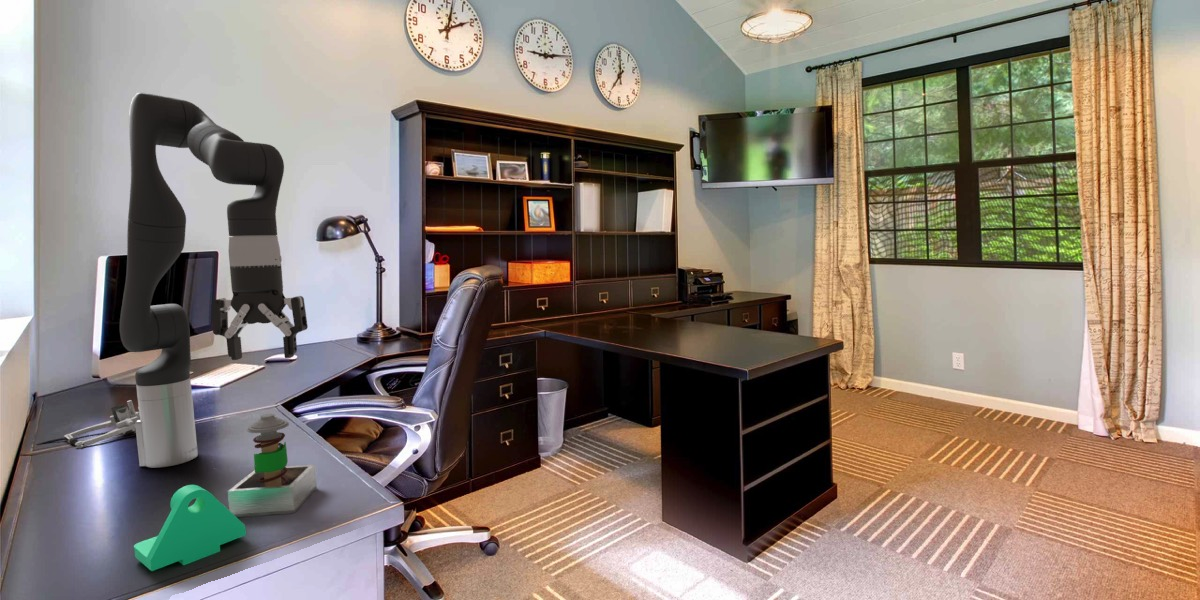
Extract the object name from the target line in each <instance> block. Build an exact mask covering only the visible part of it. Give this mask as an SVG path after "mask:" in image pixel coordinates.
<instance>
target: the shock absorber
mask: <svg viewBox="0 0 1200 600" xmlns="http://www.w3.org/2000/svg"><path fill="white" fill-rule="evenodd" d="M289 424H290V422H289V421H287V420H285V419H282V418H280V417H278V416H275V414H273V413H267V414H263V415H260V419H258V420H256V421H255V422H254V423H252V424H251V425H249V426H248V427H247V429H246V431H247V432H248V433H252V434H260V435H257V436H255V437H254V438H253V440H252V441H253V443H256V444H255V445H254V446H253V447H254V448H255V449H260V450H261V451H260V452H259V453H254V454H253V464H254V470H255V473H258V472H263V473H264V477H261V478H259V479H258V482H260V483H263V482H264V484H265V487H274V486H285V485H286V484H287V483H288V479H287V478H286V477H284V476H283V475H284V474H285V473H286V472H287V468H286V467H285V466H287V465H288V452H287V443H286V441H284V442H283V443H282V442H281V441H283V440H284V438H285V436H286V434H285V433H283V432H278V431H279V430H283V429H285V428H288V427H289ZM281 469H284V471H283V473H281ZM281 479H283V480H285V483H284V484H283V485H282V482H281Z"/></svg>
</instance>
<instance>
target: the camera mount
mask: <svg viewBox="0 0 1200 600" xmlns="http://www.w3.org/2000/svg"><path fill="white" fill-rule="evenodd" d="M193 500H195V502H194V503H193V504H192V505H190V503H191V502H192V501H193ZM169 504H170V509H171V510H170V512H169V515H167V518H166V519H165V522H164V523H163V525H162V527H161V529H160V531H159V533H158V535H157V536H154V537H150V538H149V539H144V540H142V541H139V542H137V543H135V544H134V545H133V549H134V558H136V559H137V560H138V561H139V562H140V563H141V564H142V565H144V566H145V567H146V568H147V569H148V570H149V571H151V572H154V571H156V570H159V569H162V568H165V567H166V566H169V565H173V564H175V563H177V562H179V563H180V564H181V565H182V566H185V565H188V564H191V563H194V562H196V561H199V560H202V559H204V558H206V557H209V556H213V555H215V554H216V553H220V552H221V545H224V544H226V543H229V542H232V541H234V540H237V539H239V538H243V537H245V536H246V535H247V530H246V525H245V523H244V522H242V521H241V520H240V519H239V517H236V516H235V515H233V514H232V513H231V512H230V511H229V508H227V507H226V506H225V505H224V504H223V503H221V501H220V500H219V499H218V498H217V497H216V496H214V494H212V493H211V492H209V491H208V490H207V489H205V488H203V487H201V486H199V485H197V484H187V485H185V486H182V487H181V488H178V489H177V490H176V491H175V492H174V493H173V495H172V497H171V498H170V503H169ZM189 505H190V506H189Z"/></svg>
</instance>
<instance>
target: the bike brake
mask: <svg viewBox="0 0 1200 600" xmlns="http://www.w3.org/2000/svg"><path fill="white" fill-rule="evenodd" d="M126 403H127V406H125V405H124V403H122V404H118V405H117V406H113V407H110V410H111V413H112V415H110V416H109V420H107V421H105V422H100V423H97V424H94V425H91V426H88V427H84V428H82V429H79V430H76V431H73V432H71V433H66V434H65V435H63V437H60V438H55V439H50V440H46V441H42V442H39V443H36V445H37V446H41V445H46V444H50V443H55V442H60V441H66V442H67V443H69V444H70V445H72V446H75V447H76V449H82V448H85V447H87V446H90V445H93V444H95V443H99V442H102V441H105V440H107V439H109V438H110V439H111V438H113V437H114V436H115V437H116V436H118V435H121V434H122V436H126V435H129V434H133V433H136V427H135V422H136V421H138V420H140V415H139V406H138V407H137V410H138V411H136V410H135V406H134V404H133V400H131V399H129V400H127V401H126ZM113 426H116V428H114V429H113V430H111V431H109V432H106V433H104V434H101V435H99V436H95V437H92V438H89V439H88V438H87V439H86V440H80V441H79V440H78V439H76V438H77V437H80V436H82V435H85V434H87V433H90V432H95V431H98V430H102V429H106V428H111V427H113Z"/></svg>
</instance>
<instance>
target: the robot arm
mask: <svg viewBox="0 0 1200 600" xmlns="http://www.w3.org/2000/svg"><path fill="white" fill-rule="evenodd" d="M128 113H129V115H128V122H129V123H128V126H129V127H128V128H129V148H130V149H129V153H130V155H129V156H130V188H129V189H130V190H129V203H128V216H127V233H126V238H127V239H126V242H127V244H126V245H127V247H126V248H127V251H126V252H127V253H126V254H127V255H126V256H127V257H126V258H127V259H126V273H125V274H126V275H125V283H124V289H123V296H122V297H123V298H122V303H121V304H122V305H121V310H120V318H119V335H120V340H121V343H122V345H123V347H124V348H125V349H126V350H127V351H129V352H131V353H143V352H149V351H156V350H161V352H160V354H159V356H158V357H157V358H155V359H154V360H153V361H151V362H150V363H148V364H146V365H144V366H142V367H141V368H139V369H138V370H136V372H135V386H136V397H137V403H138V407H139V410H138V412H139V415H140V416H139V420H138V421H136V422H135V427H136V428H135V434H136V444H137V453H138V461H139V462H138V463H139V467H147V468H151V469H152V468H154V469H155V468H166V467H167V468H168V467H171V466H177V465H180V464H185V463H187V462H190V461H191V460H193V459H196V458H197V457H198V455H199V454H198V443H197V432H196V421H195V412H194V401H193V393H192V392H193V391H192V384H191V383H192V382H191V372H190V371H191V365H192V362H191V361H192V358H191V357H192V355H191V354H192V353H191V333H190V332H191V330H190V329H191V328H190V321H189V317H188V314H187V311H185V309H184V308H183V307H182V306H181V305H179V304H177V303H165V304H156V305H154V304H153V305H152V301H153V296H154V293H155V291H156V288H157V286H158V284H159V282H160V281H161V280H162V278H163V277H164V276H165V274H167V272H168V271H169V270H170V268H171V267H172V266H173V265H174V263H175V262H176V261H177V259H179V257H180V255H181V254H182V252H183V250H184V248H185V243H186V241H185V240H186V229H187V228H186V227H187V215H186V212H185V210H184V207H183V206H182V203H180V201H179V200H178V197H176V195H175V193H174V192H173V190H172V188H170V186H169V185H168V183H167V181H166V180H165V177H164V176H163V174H162V172H161V170H160V167H159V164H158V158H157V150H156V147H157V146H162V147H171V148H175V149H176V148H178V149H189V150H190V153H191V154H192V155H193V156H194V157H195V158H196V159H197V160H198V161H200V162H202V163H203V164H205V165H207V166H208V167H209V169H210V172H211V174H212V176H213V178H215V180H217V181H220V182H222V183H225V184H228V185H237V186H238V185H241V186H255V190H254V191H253V194H252V195H251V196H250V197H249V198H243V199H237V200H232V201H231V202H229V203H228V204H227V207H226V217H227V228H228V229H227V230H228V259H229V260H228V261H229V274H230V284H231V285H230V286H231V291H232V298H231V299H227V298H225V297H224V298H223V297H222V298H217V299H213V300H212V302H211V304H212V307H211V308H212V310H211V311H212V314H211V315H212V332H213V334H214V335H215V336H222V337H224V338H225V339H226V347H227V355H228V357H229V358H231V360H232V361H238V360H241V359H242V358H243V350H242V349H243V348H242V340H241V339H242V338H241V336H239V335H240V334H241V332H242V330H243V329H244V328H245V327H246V326H248V325H253V324H256V323H258V324H273V325H274V326H275V327H276V328H278V329H279V330H280V331H281V332H282V334H283V335H284V336H283V337H282V341H283V352H284V353H283V354H284V358H285V359H292V358H294V355H295V354H296V353H297V352H298V345H297V334H298V333H301V332H303V331H306V330H307V329H308V326H309V325H308V320H307V312H306V305H305V298H304V297H303V296H302V295H297V296H293V297H285V295H284V285H283V284H284V281H283V271H282V268H283V267H282V255H281V248H280V244H279V239H278V227H277V215H276V214H277V213H276V212H277V206H278V200H279V194H280V190H281V185H282V181H283V177H284V172H285V163H284V159H283V156H282V154H281V153H280V151H279V150H278V149H277V148H276V147H275V146H273V145H271V144H268V143H260V142H252V141H251V142H250V141H244V139H243V138H242V137H240V136H239V135H238V134H236V133H234V132H232V131H230V130H228V129H226V128H225V127H222V126H220V125H218V124H217V123H215V122H214V121H213V119H211V118H210V116H208V115H207V114H206V113H205V112H204V111H203V110H202V109H201V108H200V107H199V106H197V105H196V104H194V103H193V102H190V101H188V100H184V99H180V98H175V97H169V96H164V95H160V94H159V95H158V94H154V93H147V92H137V93H136V94H135V95H133V96H132V99H131V102H130V106H129V112H128ZM286 305H287V307H288V309H289V310H291V311H292V319H293V323H292V322H291V320H290V318H289V317H288V316H287V315H286V314H285V313H284V311H283V310H284V308H285V307H286ZM231 308H232V309H233V310H234V312H236V313H237V314H236V315H235V316H234V318H233V320H232V321H231V322H230V326H229V317H228V316H229V315H228V313H229V312H230V310H231Z"/></svg>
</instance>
